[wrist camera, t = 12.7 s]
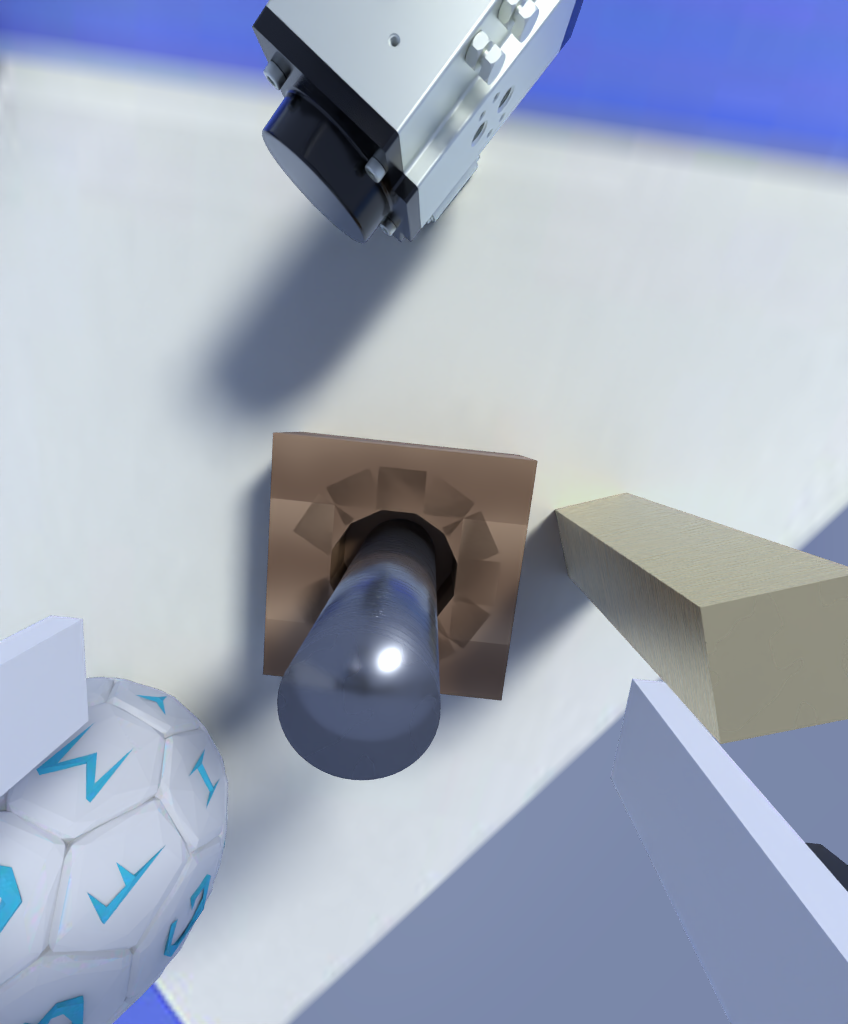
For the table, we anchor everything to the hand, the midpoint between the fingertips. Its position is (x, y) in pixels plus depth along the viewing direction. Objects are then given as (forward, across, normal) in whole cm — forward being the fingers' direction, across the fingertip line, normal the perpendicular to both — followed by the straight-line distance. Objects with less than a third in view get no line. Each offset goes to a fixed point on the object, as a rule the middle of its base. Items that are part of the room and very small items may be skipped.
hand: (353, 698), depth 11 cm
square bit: (+15, +11, +1) cm, 19 cm away
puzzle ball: (+15, -14, -15) cm, 26 cm away
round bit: (+14, 0, -1) cm, 14 cm away
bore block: (+15, 0, -1) cm, 15 cm away
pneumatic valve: (+16, 0, +18) cm, 24 cm away
